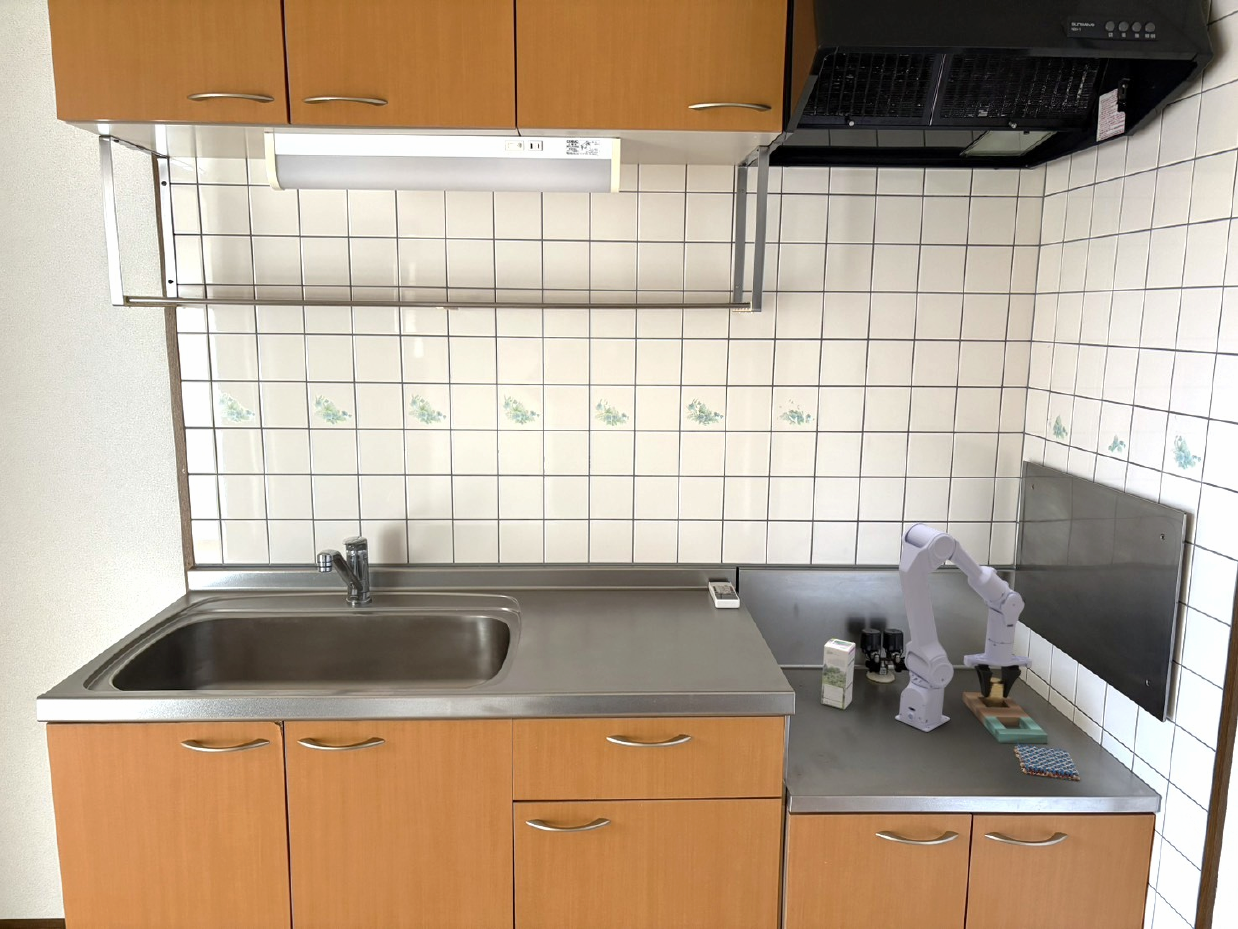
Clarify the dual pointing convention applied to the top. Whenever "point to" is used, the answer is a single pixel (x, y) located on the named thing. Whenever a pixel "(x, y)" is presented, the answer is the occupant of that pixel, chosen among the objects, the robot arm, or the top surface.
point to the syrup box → (838, 673)
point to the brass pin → (995, 693)
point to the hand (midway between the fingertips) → (994, 695)
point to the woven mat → (1046, 762)
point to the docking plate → (1005, 720)
